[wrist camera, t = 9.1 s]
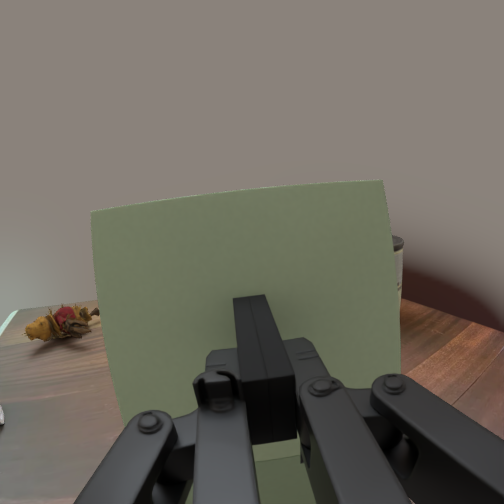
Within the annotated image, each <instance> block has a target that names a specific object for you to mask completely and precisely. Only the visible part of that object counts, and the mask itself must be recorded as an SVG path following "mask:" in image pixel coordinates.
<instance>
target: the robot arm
mask: <svg viewBox="0 0 504 504" xmlns="http://www.w3.org/2000/svg"><path fill="white" fill-rule="evenodd" d="M233 309H234V320H235V330H236V340H237V347H236V348H228V349H218V350H212V351H211V352H210V353H209V354H208V356H207V357H206V364H205V372H203V373H201V374H199V375H198V376H197V377H196V378H195V379H194V381H193V383H192V385H193V389H194V393H195V396H196V400H197V404H198V408H197V409H196V410H194V411H193V412H191V413H189V414H186V415H184V416H180V417H176V418H173V419H172V417H171V416H170V415H169V414H168V413H166V412H164V411H160V410H148V411H144V412H141V413H139V414H137V415H135V416H134V417H133V418H132V419H131V420H130V421H129V422H128V424H127V425H126V427H125V428H124V430H123V431H122V433H121V434H120V435H119V437H118V438H117V440H116V441H115V443H114V444H113V446H112V447H111V449H110V450H109V452H108V453H107V455H106V456H105V458H104V459H103V460H102V462H101V463H100V465H99V466H98V468H97V469H96V471H95V472H94V474H93V475H92V477H91V478H90V480H89V481H88V483H87V484H86V486H85V487H84V488H83V490H82V491H81V493H80V494H79V496H78V497H77V499H76V500H75V502H74V503H73V504H185V502H186V500H187V497H188V495H189V492H190V489H191V487H192V484H193V503H192V504H261V501H260V495H259V488H258V481H257V475H256V468H255V461H254V455H253V449H252V445H260V444H267V443H274V442H280V441H286V440H292V439H297V431H298V434H299V438H300V464H302V463H304V464H305V468H306V471H307V474H308V478H309V481H310V484H311V488H312V491H313V494H314V498H315V501H316V504H412V503H411V501H410V499H411V500H412V501H413V502H414V503H415V504H504V440H503V439H501V438H500V437H498V436H497V435H495V434H493V433H492V432H490V431H489V430H487V429H486V428H484V427H483V426H481V425H480V424H478V423H477V422H475V421H474V420H472V419H471V418H469V417H468V416H466V415H465V414H463V413H462V412H460V411H459V410H457V409H456V408H454V407H453V406H451V405H450V404H448V403H447V402H445V401H444V400H442V399H441V398H439V397H438V396H436V395H435V394H433V393H432V392H430V391H429V390H427V389H426V388H424V387H423V386H421V385H420V384H418V383H417V382H415V381H414V380H412V379H411V378H409V377H407V376H405V375H402V374H396V373H392V374H385V375H382V376H379V377H378V378H376V379H375V380H374V382H373V383H372V386H371V388H361V389H355V388H347V387H345V386H344V384H343V383H342V382H341V381H340V380H338V379H336V378H334V377H331V376H330V374H329V372H328V370H327V368H326V367H325V365H324V363H323V361H322V359H321V358H320V357H319V354H318V352H317V351H316V349H315V347H314V345H313V343H312V342H311V341H309V340H307V339H306V338H304V337H300V338H294V339H288V340H282V338H281V336H280V333H279V330H278V328H277V325H276V322H275V320H274V317H273V314H272V312H271V309H270V307H269V304H268V301H267V299H266V296H265V294H262V295H254V296H246V297H238V298H233ZM408 497H409V498H410V499H409V498H408Z"/></svg>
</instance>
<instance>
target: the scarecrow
mask: <svg viewBox="0 0 504 504" xmlns="http://www.w3.org/2000/svg"><path fill="white" fill-rule="evenodd" d="M75 306H76V304H75ZM61 307H62V308H60V309H59V310H58V311H56V313H54V315H53V316H52V314H53V313H52V311H50V314H51V315H50V314H49V315H47V314H46V315H47V316H44V317H42V316H41V317H38V319H36V321H34V323H32V324H29V325H27V327H26V328H25V331H26V333H24V334H27V335H26V336H28V337H29V338H30V340H31V341H32V340H34V339H35V338H38V339H41V340H44V342H46V341H49V340H50V339H51V332H52V333H53V335H54V336H57V337H58V336H59V337H58V338H64V337H66V336H71V335H72V336H73V337H76V338H82V336H81V335H80V334H86V333H89V332H91V330H88V329H85V328H82V327H81V326H88V323H87V322H88V321H90V320H92V318H91V316H93V315H97V316H99V315H100V312H99V309H98V308H95V309H94V310H93V311H92V312H91V313H90V314H88V312H87V311H88V308H87V307H84V308H83V309H81V307H80V305H79V308H78V306H76V307H74V306H73V307H63V305H62V306H61ZM49 310H50V309H49ZM54 311H55V310H54ZM48 313H49V312H48ZM62 332H64V333H67V334H71V335H65V336H64V337H63V335H62V334H61V333H62ZM79 333H80V334H79ZM22 335H23V334H22ZM61 335H62V336H61ZM53 338H54V337H53ZM47 339H48V340H47ZM55 345H56V344H55Z"/></svg>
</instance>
